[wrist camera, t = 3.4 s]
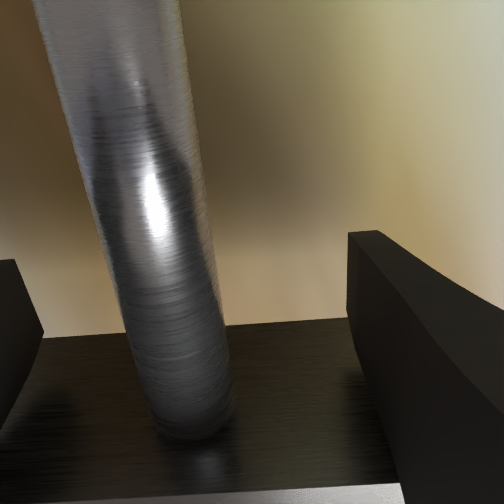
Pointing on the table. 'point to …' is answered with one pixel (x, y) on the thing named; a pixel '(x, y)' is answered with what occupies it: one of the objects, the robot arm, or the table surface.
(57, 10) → the shaft
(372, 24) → the table surface
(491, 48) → the table surface
